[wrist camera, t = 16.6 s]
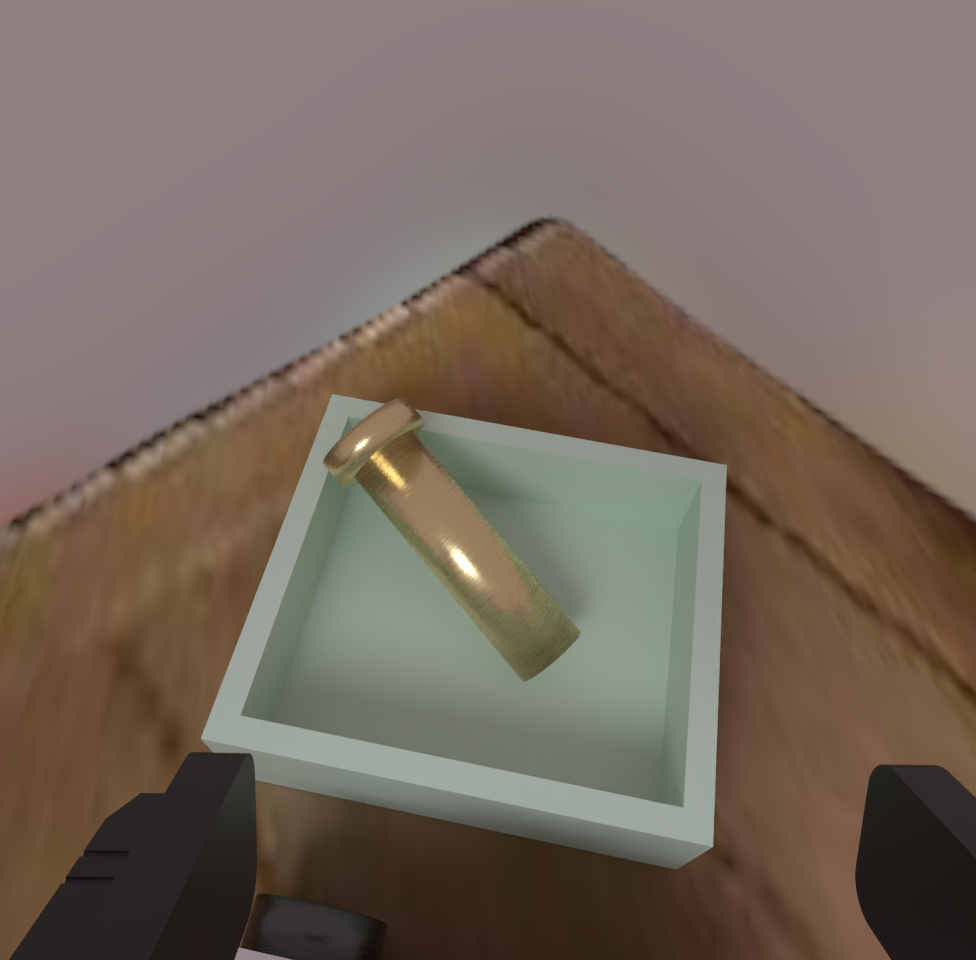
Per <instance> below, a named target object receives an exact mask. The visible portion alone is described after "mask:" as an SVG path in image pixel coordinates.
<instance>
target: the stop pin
mask: <svg viewBox="0 0 976 960" xmlns="http://www.w3.org/2000/svg"><path fill="white" fill-rule="evenodd" d="M424 424H425V420H424V419H423V418H422V417H421V416H420V414H419V413H418V412H417V411H416V410H415V408H414V407H413V406H412V405H411V404H410V402H409V401H408V400H407V399H406V398H405V397H399V398H396V399H394V400H392V401H390V402H388V403H386V404H384V405H383V406H381V407H379V408H378V409H376V410H375V411H373V412H372V413H371V414H369V415H368V416H367V417H365V418H364V419H363V420H361V421H360V422H359V423H358V424H356V425H355V426H354V427H353V428H352V429H350V430H349V431H348V432H347V433H346V434H345V435H344V436H343V437H342V438H341V439H340V440H339V441H338V442H337V443H336V444H335V445H334V446H333V447H332V448H331V450H330V451H329V452H328V453H327V455H326V456H325V458H324V460H323V465H324V466H325V467H326V468H327V469H328V471H329V472H330V473H331V474H332V475H333V477H334V478H335V479H336V480H337V481H338V483H339V484H340V485H341V486H342V488H348V487H351V486H353V485H355V484H357V483H359V484H360V485H361V486H362V488H363V489H364V490H365V491H366V493H367V494H368V495H369V496H370V497H371V499H372V500H373V501H374V502H375V503H376V505H377V506H378V507H379V508H380V509H381V511H382V512H383V513H384V514H385V516H386V517H387V518H388V519H389V520H390V522H391V523H392V524H393V525H394V526H395V528H396V529H397V530H398V531H399V533H400V534H401V535H402V536H403V537H404V539H405V540H406V541H407V542H408V543H409V545H410V546H411V547H412V548H413V549H414V551H415V552H416V553H417V554H418V556H419V557H420V558H421V559H422V560H423V562H424V563H425V564H426V565H427V566H428V568H429V569H430V570H431V571H432V572H433V574H434V575H435V576H436V577H437V579H438V580H439V581H440V582H441V583H442V585H443V586H444V587H445V588H446V589H447V591H448V592H449V593H450V594H451V595H452V597H453V598H454V599H455V600H456V602H457V603H458V604H459V605H460V606H461V608H462V609H463V610H464V611H465V612H466V614H467V615H468V616H469V617H470V619H471V620H472V621H473V622H474V623H475V625H476V626H477V627H478V628H479V629H480V631H481V632H482V633H483V634H484V635H485V637H486V638H487V639H488V640H489V642H490V643H491V644H492V645H493V646H494V648H495V649H496V650H497V651H498V652H499V654H500V655H501V656H502V657H503V658H504V660H505V661H506V662H507V663H508V665H509V666H510V667H511V668H512V669H513V671H514V672H515V673H516V674H517V675H518V677H519V678H520V679H521V680H522V681H523V682H524V681H527V680H529V679H531V678H533V677H535V676H536V675H538V674H539V673H540V672H542V671H543V670H545V669H546V668H547V667H548V666H550V665H551V664H552V663H553V662H555V661H556V660H557V659H558V658H559V657H560V656H561V655H562V654H563V653H564V652H566V651H567V650H568V649H569V648H570V646H571V645H572V644H573V643H574V642H575V641H576V640H577V638H578V637H579V635H580V633H581V631H580V630H579V628H578V627H577V626H576V625H575V624H574V622H573V621H572V620H571V619H570V618H569V616H568V615H567V614H566V613H565V612H564V610H563V609H562V608H561V607H560V606H559V604H558V603H557V602H556V601H555V600H554V598H553V597H552V596H551V595H550V594H549V592H548V591H547V590H546V589H545V588H544V586H543V585H542V584H541V583H540V582H539V580H538V579H537V578H536V577H535V576H534V574H533V573H532V572H531V571H530V570H529V568H528V567H527V566H526V565H525V564H524V562H523V561H522V560H521V559H520V558H519V556H518V555H517V554H516V553H515V552H514V550H513V549H512V548H511V547H510V546H509V545H508V543H507V542H506V541H505V540H504V539H503V537H502V536H501V535H500V534H499V533H498V531H497V530H496V529H495V528H494V527H493V525H492V524H491V523H490V522H489V521H488V519H487V518H486V517H485V516H484V515H483V513H482V512H481V511H480V510H479V509H478V507H477V506H476V505H475V504H474V503H473V501H472V500H471V499H470V498H469V497H468V495H467V494H466V493H465V492H464V491H463V489H462V488H461V487H460V486H459V485H458V483H457V482H456V481H455V480H454V479H453V477H452V476H451V475H450V474H449V473H448V471H447V470H446V469H445V468H444V467H443V465H442V464H441V463H440V462H439V461H438V459H437V458H436V457H435V456H434V455H433V453H432V452H431V451H430V450H429V449H428V447H427V446H426V445H425V444H424V443H423V441H422V440H421V439H420V438H419V437H418V435H417V434H418V433H419V432H420V430H421V429H422V428H423V426H424Z"/></svg>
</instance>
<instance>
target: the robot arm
mask: <svg viewBox="0 0 976 960" xmlns="http://www.w3.org/2000/svg"><path fill="white" fill-rule="evenodd" d="M256 873H257V841H256V798H255V766H254V760H253V757H252V755H251V754H250V753H208V752H192V753H190V754H189V755H188V756H187V757H186V758H185V760H184V762H183V763H182V765H181V767H180V768H179V770H178V772H177V773H176V775H175V777H174V778H173V780H172V782H171V783H170V785H169V787H168V788H167V790H166V792H165V793H164V794H159V793H140V794H139V795H138V796H136V797H135V798H134V799H132V800H131V801H130V802H128V803H127V804H126V805H124V806H123V807H121V808H120V809H119V810H117V811H116V812H115V813H113V814H112V815H111V816H109V817H108V818H106V819H105V821H104V822H103V824H102V825H101V827H100V828H99V829H98V831H97V832H96V834H95V835H94V837H93V838H92V840H91V841H90V843H89V844H88V846H87V847H86V848H85V850H84V855H83V857H79V859H78V860H77V862H76V863H75V864H74V866H73V867H72V869H71V870H70V872H69V873H68V875H67V876H66V881H65V884H61V885H60V886H59V888H58V889H57V891H56V892H55V894H54V895H53V897H52V898H51V899H50V901H49V902H48V904H47V905H46V907H45V908H44V910H43V911H42V913H41V914H40V916H39V917H38V918H37V920H36V921H35V923H34V924H33V926H32V927H31V929H30V930H29V932H28V933H27V934H26V936H25V937H24V939H23V940H22V942H21V943H20V945H19V946H18V948H17V949H16V951H15V952H14V953H13V955H12V956H11V958H10V959H9V960H235V957H236V954H237V951H238V948H239V945H240V942H241V939H242V936H243V933H244V931H245V928H246V925H247V922H248V919H249V915H250V912H251V908H252V903H253V897H254V891H255V884H256ZM855 880H856V890H857V895H858V900H859V904H860V907H861V910H862V913H863V915H864V917H865V920H866V922H867V923H868V925H869V927H870V928H871V930H872V931H873V933H874V934H875V936H876V937H877V939H878V940H879V942H880V943H881V945H882V946H883V948H884V949H885V951H886V952H887V954H888V955H889V957H890V958H891V960H976V798H975V797H974V796H973V795H972V794H971V793H970V792H969V791H968V790H967V789H966V788H965V787H964V786H963V785H962V784H961V783H960V782H959V781H957V780H956V779H955V778H954V777H953V776H952V775H951V774H950V773H949V772H948V771H947V770H945V769H944V768H942V767H940V766H936V765H879V766H877V767H876V768H875V769H874V770H873V772H872V773H871V776H870V779H869V783H868V790H867V796H866V803H865V810H864V816H863V823H862V830H861V836H860V843H859V850H858V856H857V863H856V872H855Z"/></svg>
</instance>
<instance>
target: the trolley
mask: <svg viewBox="0 0 976 960" xmlns="http://www.w3.org/2000/svg"><path fill="white" fill-rule="evenodd" d="M386 927H387V924H386V923H384V922H382V921H379V920H376V919H373V918H370V917H367V916H364V915H360V914H357V913H353V912H350V911H346V910H342V909H338V908H334V907H330V906H326V905H322V904H317V903H313V902H308V901H304V900H299V899H294V898H289V897H283V896H277V895H270V894H257V896H256V899H255V902H254V905H253V909H252V912H251V915H250V918H249V922H248V925H247V928H246V931H245V934H244V938H243V941H242V944H241V947H240V948H238V951H237V954H236V957H235V960H379V958H380V954H381V949H382V945H383V941H384V936H385V932H386Z"/></svg>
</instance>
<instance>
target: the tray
mask: <svg viewBox="0 0 976 960" xmlns="http://www.w3.org/2000/svg"><path fill="white" fill-rule="evenodd" d="M383 405H384V403H378V402H373V401H367V400H362V399H356V398H351V397H345V396H340V395H334V394H332V396H331V399H330V402H329V404H328V407H327V409H326V412H325V415H324V417H323V420H322V423H321V425H320V428H319V430H318V433H317V436H316V438H315V441H314V444H313V446H312V449H311V451H310V454H309V457H308V459H307V462H306V464H305V467H304V470H303V472H302V475H301V478H300V480H299V483H298V485H297V488H296V491H295V493H294V496H293V499H292V501H291V504H290V506H289V509H288V512H287V514H286V517H285V519H284V522H283V525H282V527H281V530H280V533H279V535H278V538H277V540H276V543H275V546H274V548H273V551H272V554H271V556H270V559H269V561H268V564H267V567H266V569H265V572H264V574H263V577H262V580H261V582H260V585H259V588H258V590H257V593H256V595H255V598H254V601H253V603H252V606H251V609H250V611H249V614H248V616H247V619H246V622H245V624H244V627H243V629H242V632H241V635H240V637H239V640H238V643H237V645H236V648H235V650H234V653H233V656H232V658H231V661H230V664H229V666H228V669H227V671H226V674H225V677H224V679H223V682H222V684H221V687H220V690H219V692H218V695H217V698H216V700H215V703H214V705H213V708H212V711H211V713H210V716H209V719H208V721H207V724H206V726H205V729H204V732H203V734H202V737H201V740H202V741H203V742H204V743H205V744H206V745H207V746H208V748H209V749H210V750H211V751H212V752H213V753H250V754H251V755H252V757H253V760H254V766H255V780H257V781H262V782H267V783H272V784H276V785H281V786H286V787H290V788H295V789H300V790H304V791H309V792H314V793H318V794H323V795H328V796H332V797H337V798H342V799H347V800H351V801H356V802H361V803H365V804H370V805H375V806H379V807H384V808H389V809H393V810H398V811H403V812H407V813H412V814H417V815H422V816H426V817H431V818H436V819H440V820H445V821H450V822H454V823H459V824H464V825H468V826H473V827H478V828H482V829H487V830H492V831H497V832H501V833H506V834H511V835H515V836H520V837H525V838H529V839H534V840H539V841H543V842H548V843H553V844H557V845H562V846H567V847H571V848H576V849H581V850H586V851H590V852H595V853H600V854H604V855H609V856H614V857H618V858H623V859H628V860H632V861H637V862H642V863H646V864H651V865H656V866H661V867H665V868H670V869H675V870H676V869H678V868H680V867H681V866H683V865H684V864H686V863H688V862H689V861H691V860H693V859H694V858H696V857H697V856H699V855H701V854H702V853H704V852H706V851H707V850H709V849H710V848H712V847H713V834H714V807H715V779H716V751H717V724H718V696H719V668H720V641H721V613H722V585H723V558H724V530H725V503H726V475H727V465H723V464H718V463H712V462H707V461H701V460H695V459H690V458H684V457H679V456H673V455H668V454H662V453H656V452H651V451H645V450H640V449H634V448H629V447H623V446H618V445H612V444H606V443H601V442H595V441H590V440H584V439H579V438H573V437H568V436H562V435H556V434H551V433H545V432H540V431H534V430H529V429H523V428H517V427H512V426H506V425H501V424H495V423H490V422H484V421H479V420H473V419H467V418H462V417H456V416H451V415H445V414H440V413H434V412H429V411H423V410H417V409H415V410H416V411H417V412H418V413H419V414H420V416H421V417H422V418H423V419H424V420H425V424H424V426H423V428H422V429H421V430H420V432H419V433H418V434H417V435H418V437H419V438H420V439H421V440H422V441H423V443H424V444H425V445H426V446H427V447H428V449H429V450H430V451H431V452H432V453H433V455H434V456H435V457H436V458H437V459H438V461H439V462H440V463H441V464H442V465H443V467H444V468H445V469H446V470H447V471H448V473H449V474H450V475H451V476H452V477H453V479H454V480H455V481H456V482H457V483H458V485H459V486H460V487H461V488H462V489H463V491H464V492H465V493H466V494H467V495H468V497H469V498H470V499H471V500H472V501H473V503H474V504H475V505H476V506H477V507H478V509H479V510H480V511H481V512H482V513H483V515H484V516H485V517H486V518H487V519H488V521H489V522H490V523H491V524H492V525H493V527H494V528H495V529H496V530H497V531H498V533H499V534H500V535H501V536H502V537H503V539H504V540H505V541H506V542H507V543H508V545H509V546H510V547H511V548H512V549H513V550H514V552H515V553H516V554H517V555H518V556H519V558H520V559H521V560H522V561H523V562H524V564H525V565H526V566H527V567H528V568H529V570H530V571H531V572H532V573H533V574H534V576H535V577H536V578H537V579H538V580H539V582H540V583H541V584H542V585H543V586H544V588H545V589H546V590H547V591H548V592H549V594H550V595H551V596H552V597H553V598H554V600H555V601H556V602H557V603H558V604H559V606H560V607H561V608H562V609H563V610H564V612H565V613H566V614H567V615H568V616H569V618H570V619H571V620H572V621H573V622H574V624H575V625H576V626H577V627H578V628H579V630H580V631H581V633H580V635H579V637H578V638H577V640H576V641H575V642H574V643H573V644H572V645H571V646H570V648H569V649H568V650H567V651H566V652H564V653H563V654H562V655H561V656H560V657H559V658H558V659H557V660H556V661H555V662H553V663H552V664H551V665H550V666H548V667H547V668H546V669H545V670H543V671H542V672H540V673H539V674H538V675H536V676H535V677H533V678H531V679H529V680H527V681H524V682H523V681H522V680H521V679H520V678H519V677H518V675H517V674H516V673H515V672H514V671H513V669H512V668H511V667H510V666H509V665H508V663H507V662H506V661H505V660H504V658H503V657H502V656H501V655H500V654H499V652H498V651H497V650H496V649H495V648H494V646H493V645H492V644H491V643H490V642H489V640H488V639H487V638H486V637H485V635H484V634H483V633H482V632H481V631H480V629H479V628H478V627H477V626H476V625H475V623H474V622H473V621H472V620H471V619H470V617H469V616H468V615H467V614H466V612H465V611H464V610H463V609H462V608H461V606H460V605H459V604H458V603H457V602H456V600H455V599H454V598H453V597H452V595H451V594H450V593H449V592H448V591H447V589H446V588H445V587H444V586H443V585H442V583H441V582H440V581H439V580H438V579H437V577H436V576H435V575H434V574H433V572H432V571H431V570H430V569H429V568H428V566H427V565H426V564H425V563H424V562H423V560H422V559H421V558H420V557H419V556H418V554H417V553H416V552H415V551H414V549H413V548H412V547H411V546H410V545H409V543H408V542H407V541H406V540H405V539H404V537H403V536H402V535H401V534H400V533H399V531H398V530H397V529H396V528H395V526H394V525H393V524H392V523H391V522H390V520H389V519H388V518H387V517H386V516H385V514H384V513H383V512H382V511H381V509H380V508H379V507H378V506H377V505H376V503H375V502H374V501H373V500H372V499H371V497H370V496H369V495H368V494H367V493H366V491H365V490H364V489H363V488H362V486H361V485H360V484H359V483H357V484H355V485H353V486H351V487H348V488H342V486H341V485H340V484H339V483H338V481H337V480H336V479H335V478H334V477H333V475H332V474H331V473H330V472H329V471H328V469H327V468H326V467H325V466H324V465H323V460H324V458H325V456H326V455H327V453H328V452H329V451H330V450H331V448H332V447H333V446H334V445H335V444H336V443H337V442H338V441H339V440H340V439H341V438H342V437H343V436H344V435H345V434H346V433H347V432H348V431H349V430H350V429H352V428H353V427H354V426H355V425H356V424H358V423H359V422H360V421H361V420H363V419H364V418H365V417H367V416H368V415H369V414H371V413H372V412H373V411H375V410H376V409H378V408H379V407H381V406H383Z"/></svg>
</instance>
